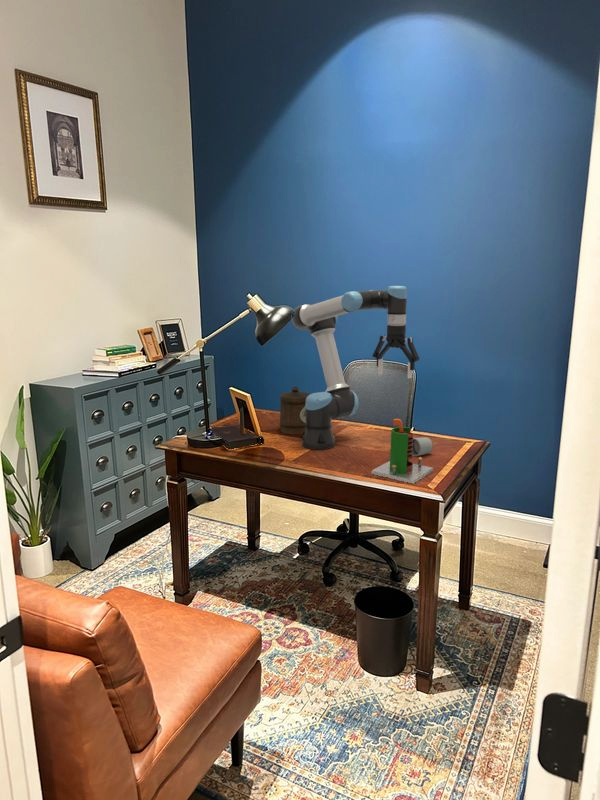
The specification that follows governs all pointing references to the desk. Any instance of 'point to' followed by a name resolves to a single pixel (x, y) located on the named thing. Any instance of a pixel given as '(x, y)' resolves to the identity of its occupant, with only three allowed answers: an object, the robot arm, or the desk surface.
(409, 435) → the motor
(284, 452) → the desk surface
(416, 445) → the ceramic mug
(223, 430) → the diary
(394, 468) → the mounting plate
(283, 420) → the wooden container
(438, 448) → the desk surface
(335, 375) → the robot arm
